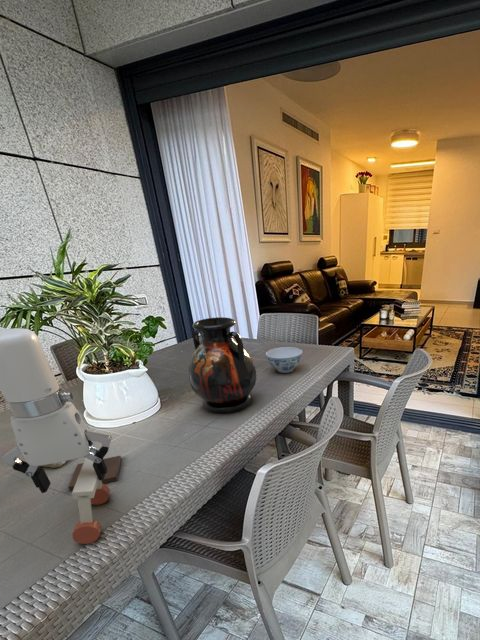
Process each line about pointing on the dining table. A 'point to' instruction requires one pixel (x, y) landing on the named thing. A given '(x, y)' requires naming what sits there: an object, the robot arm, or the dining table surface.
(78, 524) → the over-ear headset
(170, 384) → the dining table surface
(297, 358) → the chinaware
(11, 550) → the dining table surface
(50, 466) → the pastry
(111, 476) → the headphone stand
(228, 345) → the amphora vase
